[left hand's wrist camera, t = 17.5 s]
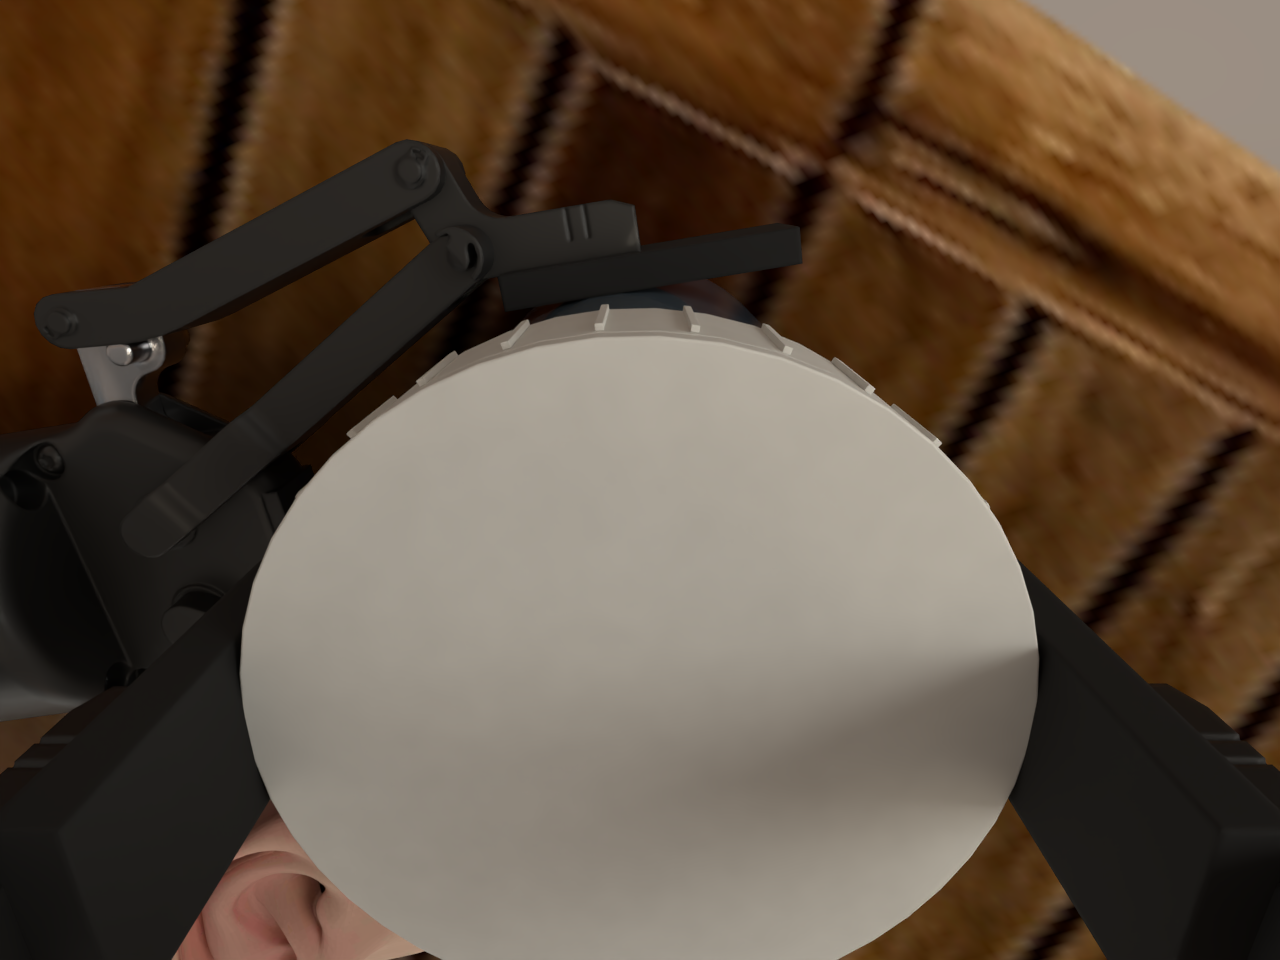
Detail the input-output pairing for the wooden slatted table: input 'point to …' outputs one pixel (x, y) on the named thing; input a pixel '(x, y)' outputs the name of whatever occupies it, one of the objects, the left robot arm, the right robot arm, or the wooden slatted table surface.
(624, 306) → the jar
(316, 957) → the anatomical model
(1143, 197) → the wooden slatted table surface
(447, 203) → the right robot arm
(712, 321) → the lid
